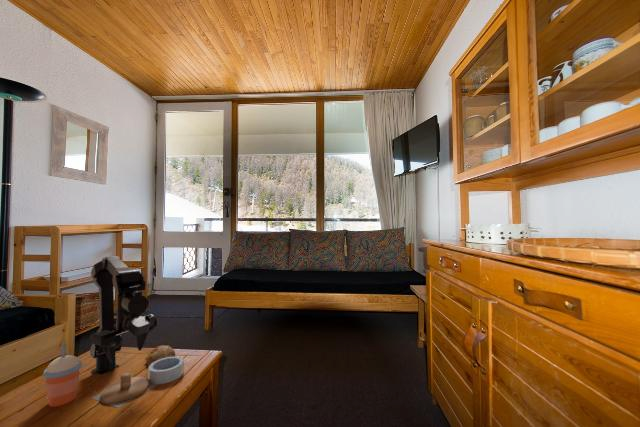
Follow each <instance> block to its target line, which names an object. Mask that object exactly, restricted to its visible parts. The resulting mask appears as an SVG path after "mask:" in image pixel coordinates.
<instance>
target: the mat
mask: <svg viewBox="0 0 640 427" xmlns="http://www.w3.org/2000/svg"><path fill="white" fill-rule="evenodd" d="M156 386H158V384H153V383H150V382H149V386H148V388H147V390H146V391H145V392H144V393H142V394H141V395H143V394H145V393H146V392H148V391H149V390H151V389H153V388H155V387H156ZM141 395H139V396H141ZM139 396H137V397H135V398H133V399H131V400H128V401H125V402H121V403H114V404H108V403H104V402H102V401H101V392H100V393H98V394H96V395H94V396H92V397H91V399H93V400H95V401H97V402H101V403H103V404H105V405H109V406H112V407H114V408H117V409H118V408H121V407H122V406H125V405H126V404H127V403H129V402H131V401H132V400H134V399H136V398H138V397H139Z"/></svg>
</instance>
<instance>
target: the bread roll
mask: <svg viewBox="0 0 640 427" xmlns="http://www.w3.org/2000/svg"><path fill="white" fill-rule="evenodd" d="M175 356H176V351H175V349H174V348H172V347H171V346H170V345H164V344H163V345H159V346H156V347H154V348H152V349H151V350H150V351H149V352H148V353H147V355H146V357H145V359H144V361H146V365H147V366H148V367H149V366H150V365H151V364H152V363H153V362H155V361H157V360H159V359H162V358H166V357H175Z"/></svg>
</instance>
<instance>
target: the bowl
mask: <svg viewBox="0 0 640 427" xmlns="http://www.w3.org/2000/svg"><path fill="white" fill-rule="evenodd" d="M147 369H148V373H147V377H148V378H147V379H148V380H149V382H150V383H153V384H157V385H163V384H168V383H171V382H174V381H177V379H179V378H181V377H182V376H183V374H184V373H185V360H184V358H183V357H180V356H176V355H175V357H166V358H162V359H159V360H157V361H155V362H153V363H152V364H151V365H150V366H148V368H147Z"/></svg>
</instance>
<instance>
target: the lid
mask: <svg viewBox="0 0 640 427" xmlns="http://www.w3.org/2000/svg"><path fill="white" fill-rule="evenodd" d="M148 386H149V380H148V378H147V377H144V376H132V373H131V372H125V373H123V374H121V375H120V380H117V381H114V382H113V383H110V384H109V385H108V386H106V387H105V388H103V389H102V391H101V392H100V393H101V401H102V402H101V403H103V402H104V403H103V404H106V403H108V404H114V403H121V402H125V401H128V400H131V399H133V398H134V399H136V398H138V397H139V395H140V396H141V395H143V394H145V393H146V392H147V391H146V390H147V388H148ZM145 391H146V392H145ZM144 392H145V393H144ZM142 393H143V394H142ZM137 396H138V397H137ZM135 397H136V398H135ZM134 399H133V400H134ZM131 401H132V400H131ZM108 404H107V405H108Z"/></svg>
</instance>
